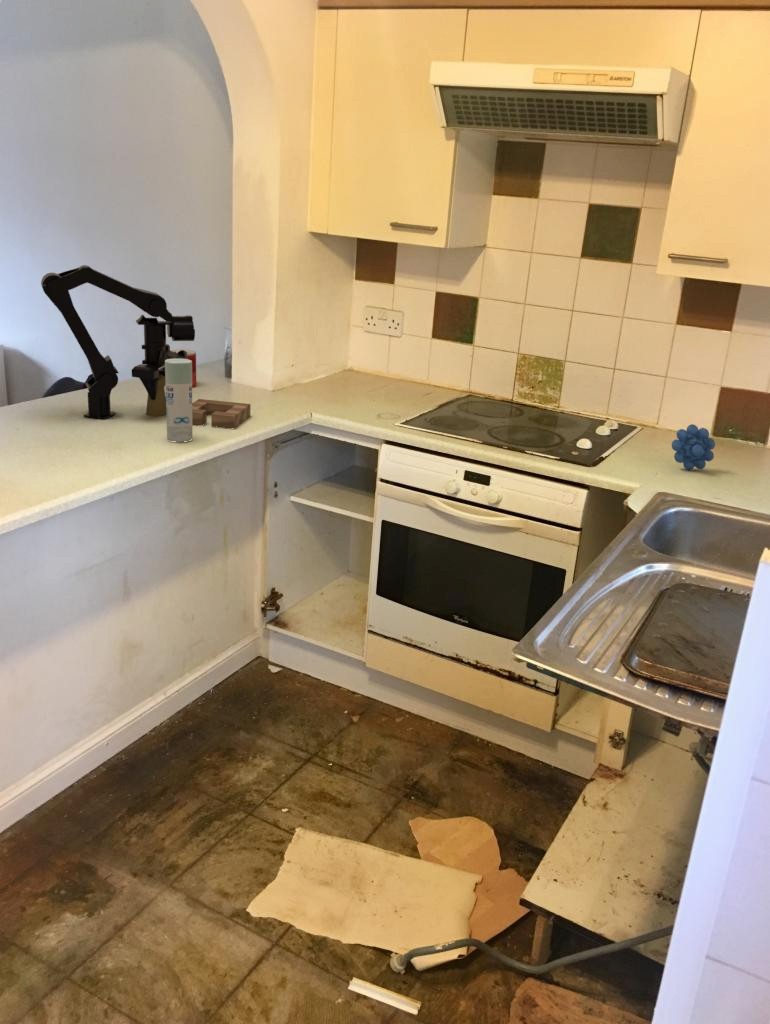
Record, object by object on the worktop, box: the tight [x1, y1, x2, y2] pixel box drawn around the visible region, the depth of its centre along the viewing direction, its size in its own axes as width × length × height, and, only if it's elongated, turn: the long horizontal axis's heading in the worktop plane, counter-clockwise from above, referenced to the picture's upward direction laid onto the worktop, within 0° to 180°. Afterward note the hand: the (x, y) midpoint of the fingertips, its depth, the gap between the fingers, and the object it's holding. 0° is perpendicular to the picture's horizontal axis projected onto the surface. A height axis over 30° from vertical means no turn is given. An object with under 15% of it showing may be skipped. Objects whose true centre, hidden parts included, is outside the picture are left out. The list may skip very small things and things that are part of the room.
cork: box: [145, 374, 166, 417], centre depth 240 cm, size 6×6×11 cm
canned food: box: [170, 348, 197, 388], centre depth 274 cm, size 8×8×11 cm
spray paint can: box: [165, 358, 193, 442], centre depth 216 cm, size 6×6×20 cm
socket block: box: [192, 398, 251, 429], centre depth 239 cm, size 15×15×4 cm
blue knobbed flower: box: [670, 423, 716, 471], centre depth 221 cm, size 12×7×12 cm, turn 95°
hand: (156, 397), depth 240 cm, fingers closed on cork, 4 cm apart
